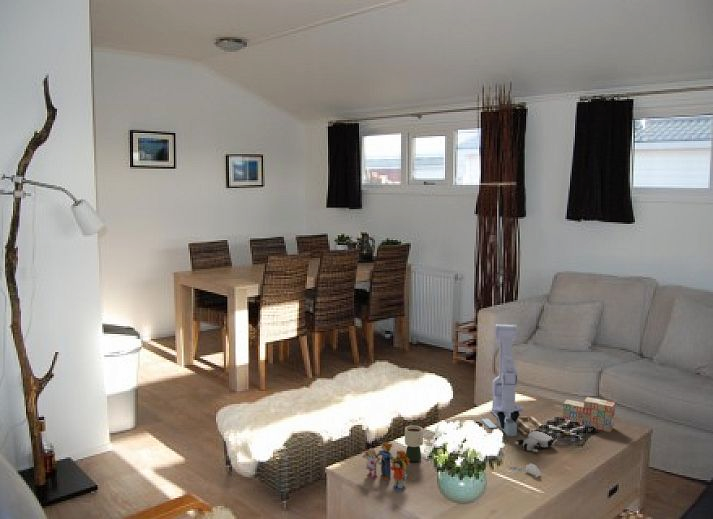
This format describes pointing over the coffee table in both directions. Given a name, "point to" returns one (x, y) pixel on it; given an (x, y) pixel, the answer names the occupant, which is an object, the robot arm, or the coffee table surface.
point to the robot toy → (536, 441)
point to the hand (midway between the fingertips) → (507, 427)
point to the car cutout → (528, 469)
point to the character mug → (413, 442)
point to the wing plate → (488, 423)
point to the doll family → (388, 465)
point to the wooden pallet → (527, 425)
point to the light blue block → (509, 426)
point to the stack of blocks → (591, 413)
